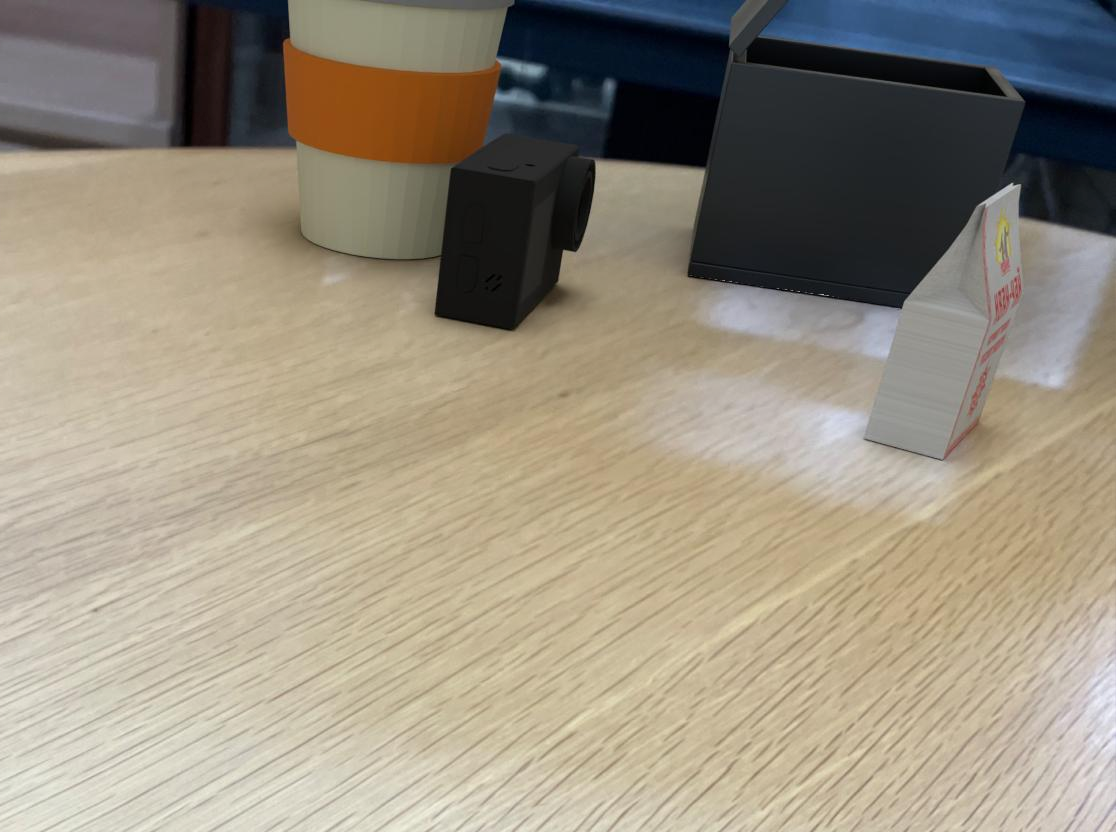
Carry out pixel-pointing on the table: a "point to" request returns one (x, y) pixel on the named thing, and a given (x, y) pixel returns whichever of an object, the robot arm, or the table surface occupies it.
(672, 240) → the table surface
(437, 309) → the digital camera
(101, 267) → the table surface
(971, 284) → the small milk carton
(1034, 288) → the table surface
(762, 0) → the bin lid
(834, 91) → the bin
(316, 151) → the reusable coffee cup
